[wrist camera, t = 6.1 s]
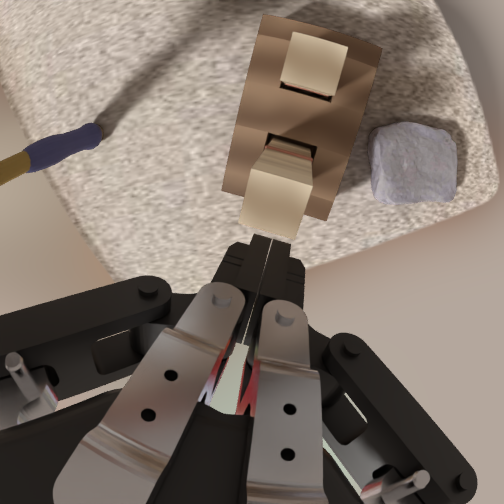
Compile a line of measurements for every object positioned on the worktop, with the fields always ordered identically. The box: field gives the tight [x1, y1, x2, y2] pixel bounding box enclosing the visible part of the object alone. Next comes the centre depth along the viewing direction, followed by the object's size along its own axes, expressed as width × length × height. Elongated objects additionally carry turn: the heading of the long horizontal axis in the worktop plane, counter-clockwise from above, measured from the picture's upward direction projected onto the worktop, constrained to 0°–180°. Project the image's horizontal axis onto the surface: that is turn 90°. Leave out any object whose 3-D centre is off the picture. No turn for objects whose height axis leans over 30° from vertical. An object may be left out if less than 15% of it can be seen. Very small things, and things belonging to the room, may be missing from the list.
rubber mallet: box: [0, 123, 103, 186], centre depth 24 cm, size 12×8×30 cm, turn 112°
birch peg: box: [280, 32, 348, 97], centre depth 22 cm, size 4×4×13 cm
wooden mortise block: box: [221, 14, 382, 221], centre depth 29 cm, size 20×12×6 cm, turn 167°
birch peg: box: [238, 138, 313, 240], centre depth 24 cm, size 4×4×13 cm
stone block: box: [367, 121, 457, 205], centre depth 30 cm, size 12×5×10 cm
